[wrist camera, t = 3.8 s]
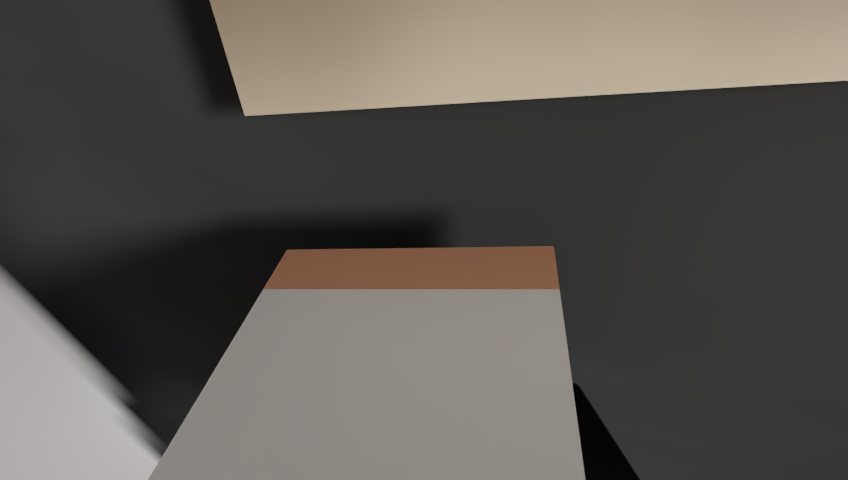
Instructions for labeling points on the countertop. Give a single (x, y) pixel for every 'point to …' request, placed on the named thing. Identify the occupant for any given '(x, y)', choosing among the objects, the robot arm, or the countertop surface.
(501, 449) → the banded sleeve
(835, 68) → the pin board
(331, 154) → the countertop surface
